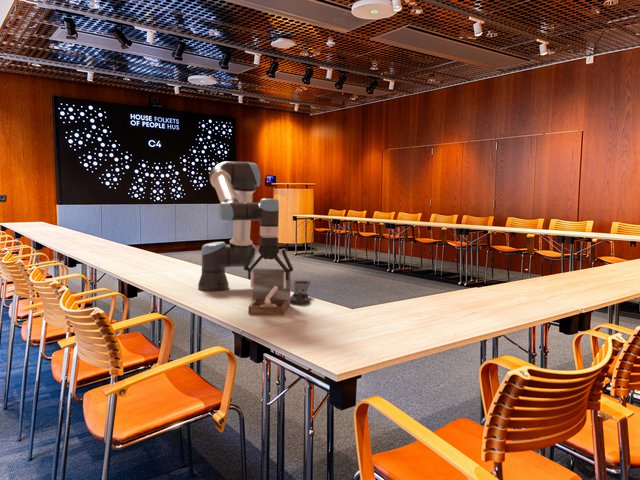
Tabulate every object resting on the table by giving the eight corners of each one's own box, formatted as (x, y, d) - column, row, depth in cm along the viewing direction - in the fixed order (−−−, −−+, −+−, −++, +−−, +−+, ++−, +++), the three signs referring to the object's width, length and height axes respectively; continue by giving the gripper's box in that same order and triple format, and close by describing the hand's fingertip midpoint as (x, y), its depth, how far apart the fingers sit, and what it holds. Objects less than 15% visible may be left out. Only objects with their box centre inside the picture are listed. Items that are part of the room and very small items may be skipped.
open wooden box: (253, 304, 208) (253, 268, 207) (290, 305, 208) (290, 269, 206) (245, 314, 192) (246, 274, 190) (285, 315, 191) (286, 275, 190)
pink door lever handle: (288, 299, 194) (274, 290, 192) (271, 321, 196) (257, 312, 194) (288, 291, 201) (274, 282, 199) (271, 313, 203) (257, 304, 201)
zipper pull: (311, 280, 234) (309, 290, 209) (311, 293, 235) (308, 305, 210) (293, 280, 235) (288, 290, 210) (292, 293, 235) (288, 304, 210)
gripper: (236, 236, 192) (236, 288, 195) (298, 238, 191) (297, 290, 194) (240, 234, 200) (240, 284, 202) (300, 236, 199) (299, 286, 201)
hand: (268, 287), depth 198 cm, fingers open, 13 cm apart
